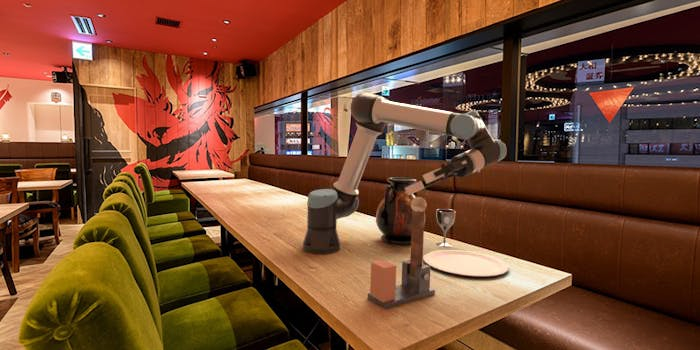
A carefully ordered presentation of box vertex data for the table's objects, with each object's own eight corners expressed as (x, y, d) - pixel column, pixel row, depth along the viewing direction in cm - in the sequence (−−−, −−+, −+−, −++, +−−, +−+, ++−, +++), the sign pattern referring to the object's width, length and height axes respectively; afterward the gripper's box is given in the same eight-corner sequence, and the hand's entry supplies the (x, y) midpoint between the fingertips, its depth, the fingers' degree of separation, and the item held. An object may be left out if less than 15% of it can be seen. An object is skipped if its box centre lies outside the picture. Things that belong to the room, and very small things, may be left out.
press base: (414, 285, 108) (415, 257, 108) (436, 295, 101) (437, 266, 100) (366, 297, 98) (367, 267, 98) (386, 310, 91) (388, 277, 90)
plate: (454, 249, 149) (454, 245, 149) (524, 269, 127) (524, 264, 126) (406, 261, 131) (406, 257, 131) (478, 287, 108) (478, 282, 108)
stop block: (381, 291, 99) (382, 259, 98) (395, 299, 94) (396, 265, 94) (370, 294, 97) (371, 262, 96) (383, 302, 92) (384, 268, 91)
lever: (415, 272, 105) (419, 195, 103) (426, 277, 101) (430, 197, 100) (404, 274, 103) (407, 196, 101) (415, 279, 99) (418, 198, 97)
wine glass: (454, 248, 150) (456, 212, 149) (435, 246, 152) (436, 211, 150) (453, 243, 158) (454, 209, 157) (434, 241, 159) (436, 208, 158)
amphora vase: (398, 233, 173) (400, 175, 171) (434, 243, 157) (437, 179, 154) (365, 239, 160) (366, 177, 158) (400, 251, 143) (403, 181, 141)
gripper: (495, 160, 107) (440, 185, 100) (452, 184, 130) (405, 205, 123) (483, 138, 109) (427, 161, 101) (443, 165, 132) (395, 186, 124)
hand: (415, 185), depth 112 cm, fingers open, 13 cm apart
